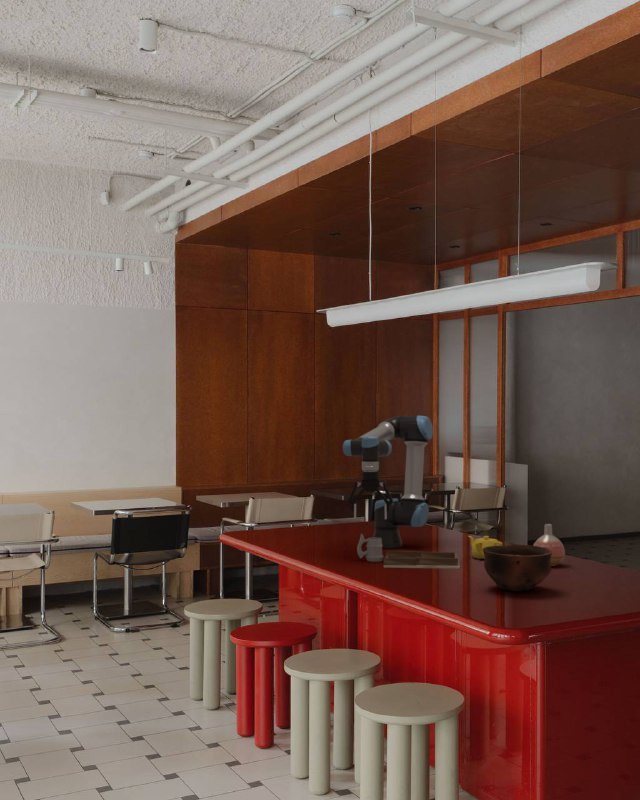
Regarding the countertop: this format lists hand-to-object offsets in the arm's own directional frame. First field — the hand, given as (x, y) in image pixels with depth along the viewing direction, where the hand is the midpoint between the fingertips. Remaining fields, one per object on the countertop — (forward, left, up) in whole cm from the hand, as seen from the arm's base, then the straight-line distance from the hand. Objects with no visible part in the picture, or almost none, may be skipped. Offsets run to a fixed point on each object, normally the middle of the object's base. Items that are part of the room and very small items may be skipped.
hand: (370, 518), depth 402 cm
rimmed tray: (+7, +23, -19) cm, 30 cm away
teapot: (-11, +51, -19) cm, 55 cm away
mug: (0, 0, -19) cm, 19 cm away
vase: (+5, +77, -19) cm, 79 cm away
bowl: (+60, +59, -19) cm, 86 cm away
